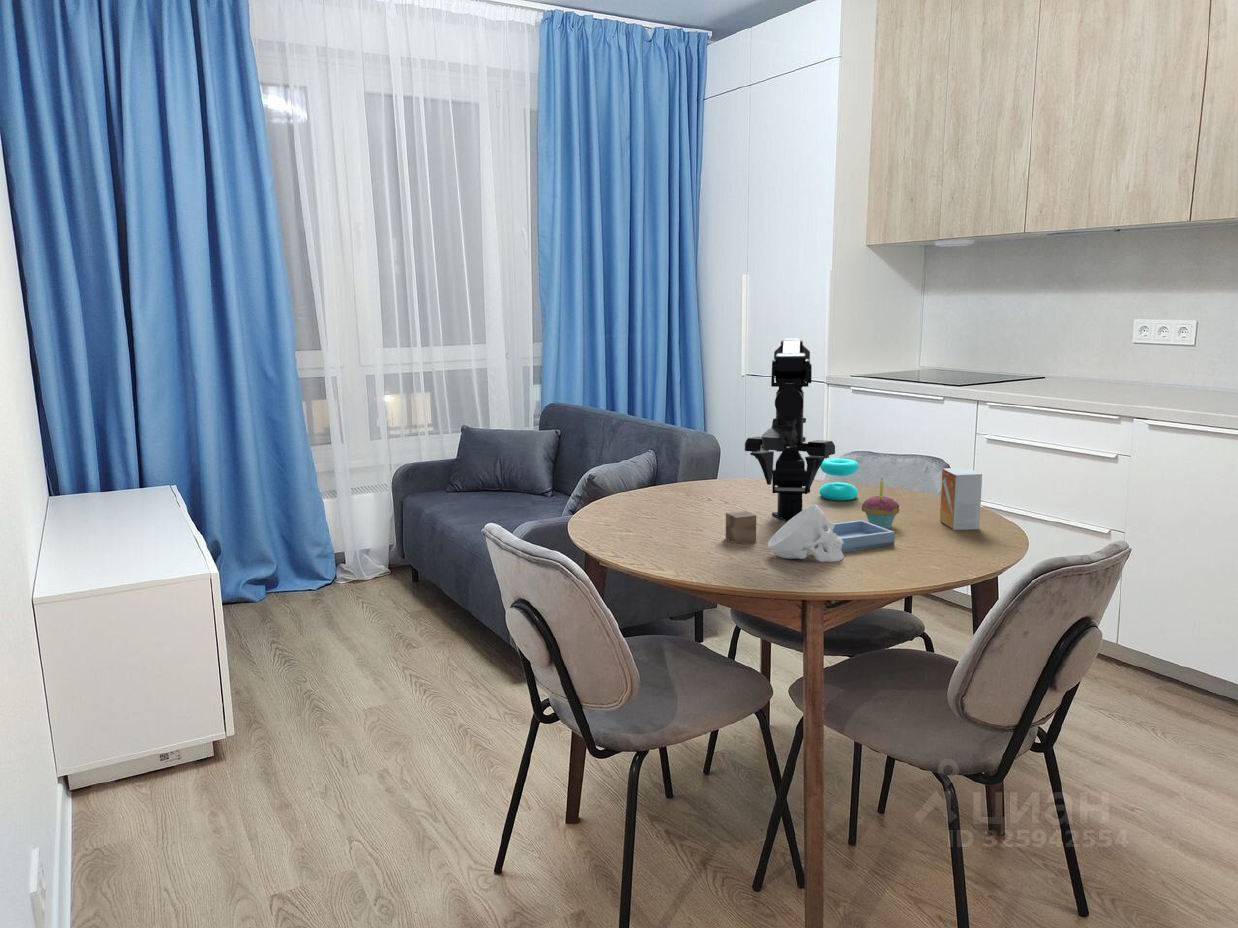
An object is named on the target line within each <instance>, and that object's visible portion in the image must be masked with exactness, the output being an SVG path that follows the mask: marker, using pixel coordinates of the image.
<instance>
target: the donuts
mask: <svg viewBox="0 0 1238 928" xmlns="http://www.w3.org/2000/svg"><path fill="white" fill-rule="evenodd" d="M859 468H860V466H859V463H858V462H857V461H856V460H853V459H850V458H838V457H836V458H826V459H824V461H823V462H822V464H821V466H820V467H819V469H820V470H821V471H822V472H823V473H825V474H827V475H828V476H829V475H830V476H835V477H846V476H851V475H854V474H856V473H857V472H858V471H859ZM819 495H820V496H821V497H822V498H824V499H825V500H829V501H830V500H831V501H838V502H839V501H850V500H854V499H856V498H857V497H858V495H859V490H858V488H857V487H856V486H855V485H853V484H850V483H847V482H829V483H825V484H823V485H822V486H821V487H820V489H819Z"/></svg>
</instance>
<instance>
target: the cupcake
mask: <svg viewBox="0 0 1238 928" xmlns="http://www.w3.org/2000/svg"><path fill="white" fill-rule="evenodd" d="M883 479H884V478H883V477H882V478H881V480H880V482H879V483H880V484H879V495H876V496H872V497H870V498H868V499H865V500H864V501H863V502H862V504H861V511H862V512H864V513H865V514H866V517H867V519H868V520H867V521H868V522H869V523H872V524H875V525H877V526H880V527H883V528H885V529H888V530H889V529H890V528H891V527H892V525H893V522H894V519H895V517H896V516H897V515H898V514H899V513H900V504H899V503H898V502H897V501H896V500H894V499H893V498H890V497H887V496H883V494H884V481H883Z"/></svg>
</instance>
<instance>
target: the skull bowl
mask: <svg viewBox="0 0 1238 928" xmlns="http://www.w3.org/2000/svg"><path fill="white" fill-rule="evenodd" d="M835 525H836V524H834V522H831V521H829V520H828V519H827V518H826V514H825V513H824V512H823V510H822V509H821V507H820V506H819V505H817V504H816V503H813V504H810V505H809V506H807V507H805V508H804V509H802V511H801V512H800V513H798V514H797V515H796V516H794V517H793V518H792V519H790V520H787V522H785V523H784V524H783V525H782V526H781V527H780V528H779V529H778V530H777V531H776V532H775V533H774V534H773V535H772V537H771V538H770V539H769V541H768V547H769V548H770V550H771V551H772V552H773V553H774V554H775V555H777V556H778V557H780V558H782V559H788V560H789V559H790V560H792V559H793V560H794V559H795V560H796V559H801V560H804V559H807V555H808V554H810V555H812V556H813V557H814V558H815V559H816V560H817V561H818V562H820V563H829V562H830V563H836V562H839V561H842V560H843V559H844V557H845V556H844V552H842V551H841V548H842V544H844V542H843V540H842V539H841V538H839V537H838V536H837V534H836V533H833V528H834V526H835Z"/></svg>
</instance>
